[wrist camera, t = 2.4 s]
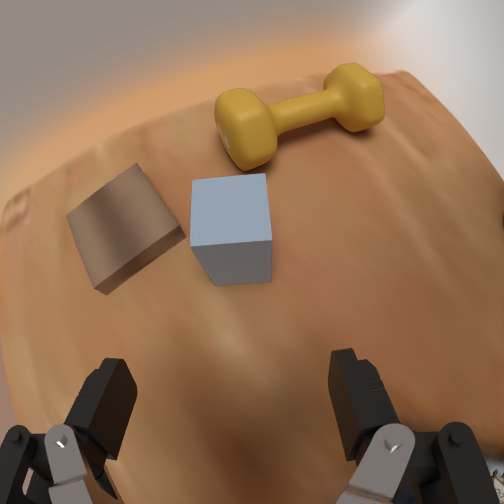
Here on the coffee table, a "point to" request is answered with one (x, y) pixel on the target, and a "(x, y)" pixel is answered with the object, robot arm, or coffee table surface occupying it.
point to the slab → (122, 229)
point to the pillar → (232, 229)
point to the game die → (499, 485)
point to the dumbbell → (296, 113)
